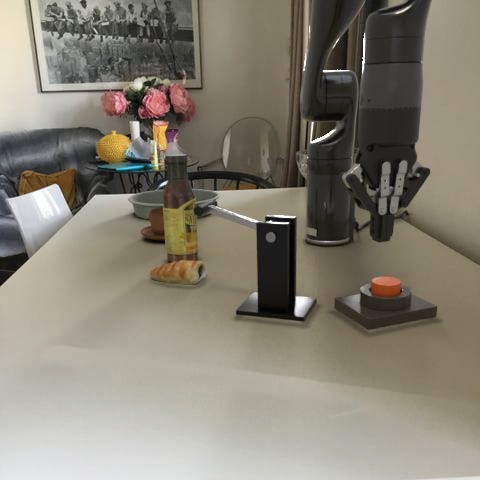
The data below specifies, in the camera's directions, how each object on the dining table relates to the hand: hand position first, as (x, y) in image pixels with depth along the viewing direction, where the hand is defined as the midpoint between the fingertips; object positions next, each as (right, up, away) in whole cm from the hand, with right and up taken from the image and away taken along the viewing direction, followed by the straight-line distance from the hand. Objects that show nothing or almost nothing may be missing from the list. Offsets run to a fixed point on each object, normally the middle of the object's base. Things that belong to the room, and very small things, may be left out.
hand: (380, 240), depth 77 cm
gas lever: (-19, +2, +4) cm, 19 cm away
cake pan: (-37, +18, +77) cm, 87 cm away
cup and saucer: (-35, +8, +51) cm, 62 cm away
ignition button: (+1, -7, +3) cm, 8 cm away
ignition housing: (+1, -10, +4) cm, 11 cm away
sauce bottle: (-30, +1, +34) cm, 45 cm away
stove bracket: (-14, -10, +7) cm, 18 cm away
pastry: (-29, -4, +21) cm, 36 cm away
